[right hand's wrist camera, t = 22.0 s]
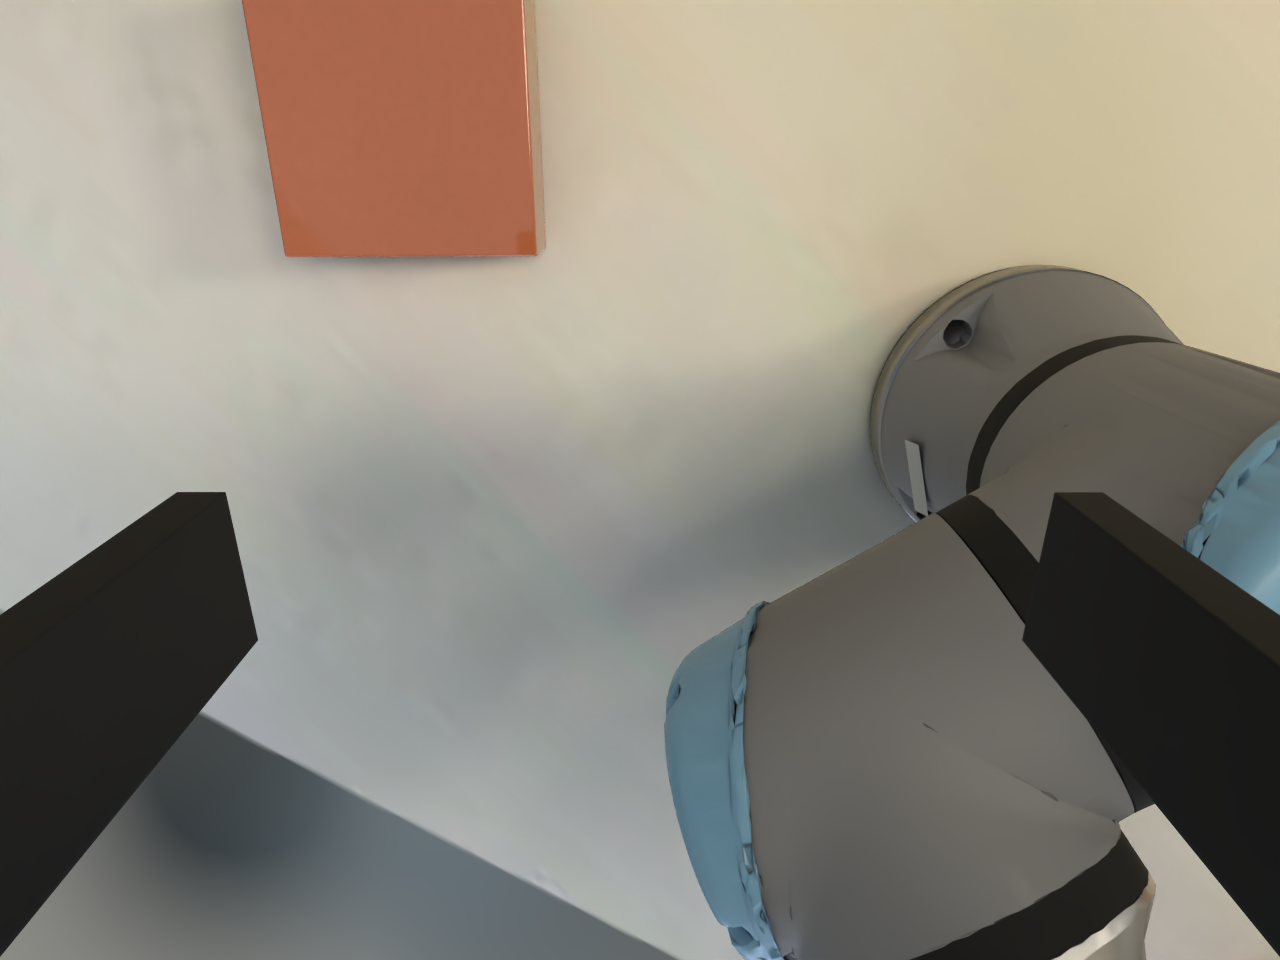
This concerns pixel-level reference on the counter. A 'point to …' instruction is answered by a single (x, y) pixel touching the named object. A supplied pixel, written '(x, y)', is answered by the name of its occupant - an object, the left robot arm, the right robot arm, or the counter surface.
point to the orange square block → (401, 125)
